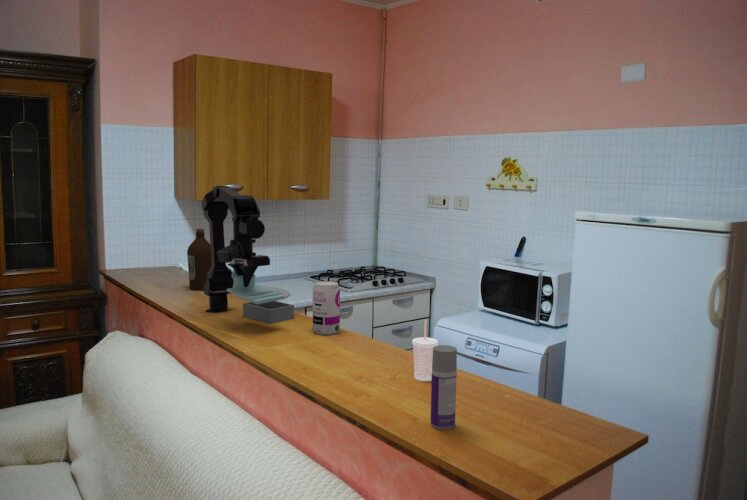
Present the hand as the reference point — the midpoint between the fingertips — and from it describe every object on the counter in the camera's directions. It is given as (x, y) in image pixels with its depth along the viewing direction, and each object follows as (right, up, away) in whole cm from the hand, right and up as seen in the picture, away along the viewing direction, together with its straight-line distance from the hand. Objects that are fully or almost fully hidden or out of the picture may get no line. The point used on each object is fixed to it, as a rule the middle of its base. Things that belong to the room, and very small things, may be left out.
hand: (244, 286), depth 179 cm
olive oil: (-32, -5, +62) cm, 70 cm away
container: (+53, -22, -68) cm, 89 cm away
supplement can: (+26, -14, -3) cm, 29 cm away
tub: (+5, -12, +12) cm, 17 cm away
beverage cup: (+52, -19, -42) cm, 70 cm away
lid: (+4, -2, -3) cm, 6 cm away
